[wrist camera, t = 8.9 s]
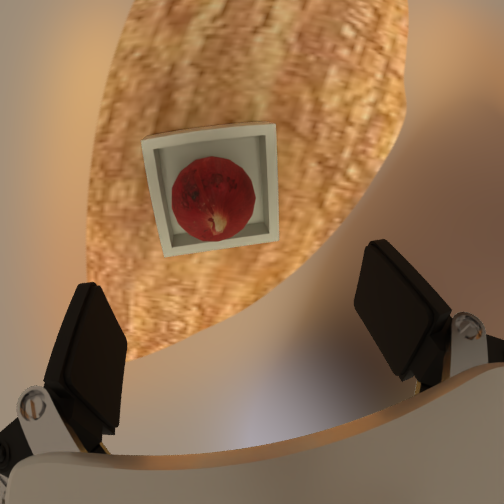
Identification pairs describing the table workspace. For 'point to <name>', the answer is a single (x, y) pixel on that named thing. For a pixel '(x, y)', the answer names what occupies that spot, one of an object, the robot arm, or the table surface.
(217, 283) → the table surface
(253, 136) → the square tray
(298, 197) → the table surface
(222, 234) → the onion
